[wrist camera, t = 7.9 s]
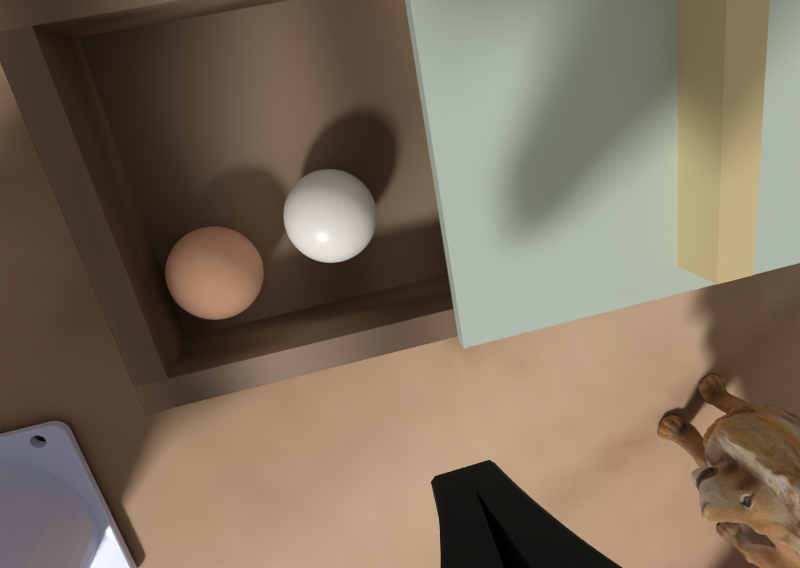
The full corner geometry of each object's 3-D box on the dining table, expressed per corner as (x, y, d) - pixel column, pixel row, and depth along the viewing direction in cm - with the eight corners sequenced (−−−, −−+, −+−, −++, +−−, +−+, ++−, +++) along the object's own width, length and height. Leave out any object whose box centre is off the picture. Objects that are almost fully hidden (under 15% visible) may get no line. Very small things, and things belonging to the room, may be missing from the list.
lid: (458, 340, 18) (482, 375, 16) (391, -85, 14) (411, -119, 11) (884, 233, 20) (960, 251, 17) (945, -174, 15) (1055, -219, 13)
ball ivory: (296, 257, 19) (296, 284, 17) (274, 173, 18) (271, 188, 16) (378, 238, 20) (391, 262, 17) (361, 155, 19) (373, 166, 16)
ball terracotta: (191, 308, 19) (174, 344, 17) (163, 228, 18) (140, 252, 16) (275, 288, 20) (272, 321, 17) (252, 208, 19) (245, 229, 16)
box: (168, 363, 20) (146, 414, 17) (33, 7, 16) (-31, -13, 13) (572, 266, 22) (619, 295, 19) (549, -80, 18) (604, -116, 15)
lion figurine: (588, 399, 24) (742, 558, 16) (681, 318, 24) (890, 440, 16) (734, 555, 30) (907, 736, 21) (813, 491, 29) (1021, 652, 21)
